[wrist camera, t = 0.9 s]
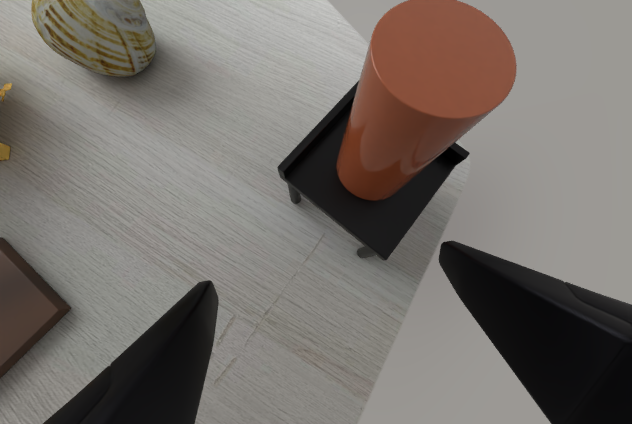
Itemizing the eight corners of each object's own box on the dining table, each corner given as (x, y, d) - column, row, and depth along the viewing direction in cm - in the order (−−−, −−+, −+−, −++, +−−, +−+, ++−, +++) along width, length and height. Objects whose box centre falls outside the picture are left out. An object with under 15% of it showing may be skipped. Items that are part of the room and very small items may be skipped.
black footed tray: (419, 188, 26) (470, 152, 18) (363, 263, 24) (392, 259, 16) (345, 133, 27) (362, 76, 19) (286, 199, 25) (276, 167, 17)
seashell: (53, 23, 28) (3, -98, 20) (154, 46, 33) (147, -42, 25) (50, 94, 25) (-10, -13, 17) (161, 108, 30) (155, 31, 22)
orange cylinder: (419, 163, 19) (542, 48, 9) (379, 215, 18) (469, 148, 8) (364, 122, 19) (423, -26, 10) (321, 170, 18) (340, 57, 9)
